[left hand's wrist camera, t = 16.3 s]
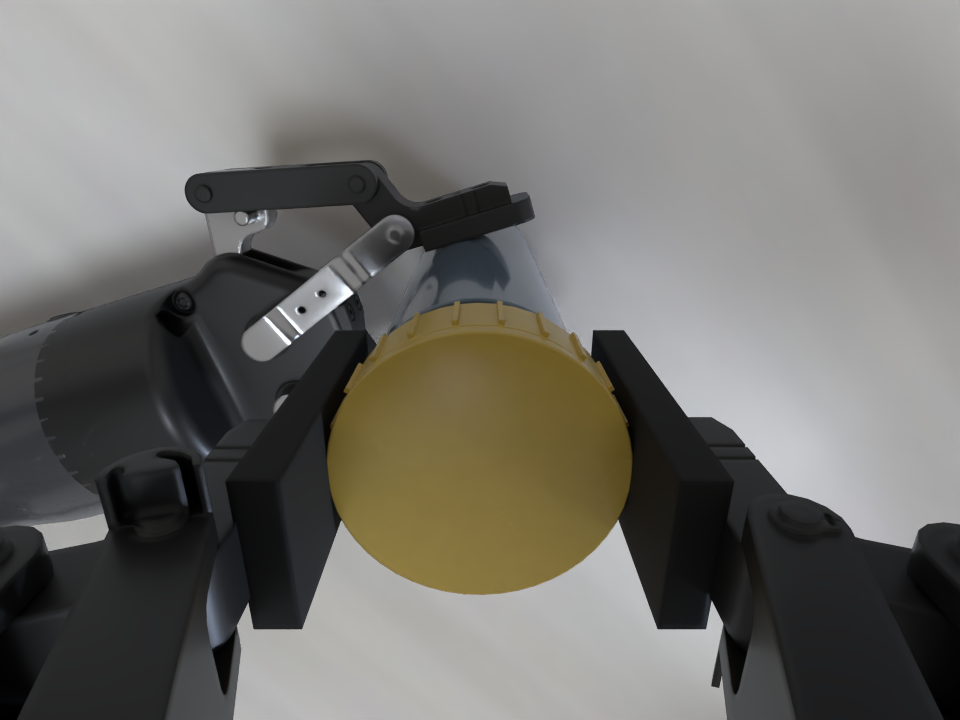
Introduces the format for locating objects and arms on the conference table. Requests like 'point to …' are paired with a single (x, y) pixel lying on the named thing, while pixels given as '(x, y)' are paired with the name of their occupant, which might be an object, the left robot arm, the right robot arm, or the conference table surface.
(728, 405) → the conference table surface
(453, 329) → the lid
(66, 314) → the right robot arm
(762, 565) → the left robot arm
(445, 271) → the jar
